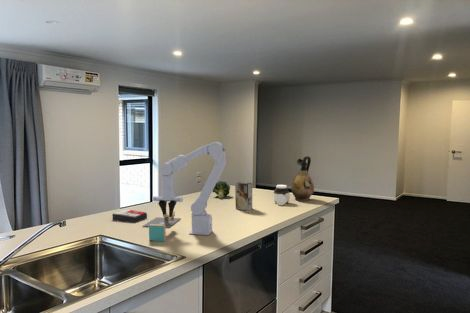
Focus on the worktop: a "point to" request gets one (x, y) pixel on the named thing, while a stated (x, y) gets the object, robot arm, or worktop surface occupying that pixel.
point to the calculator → (129, 215)
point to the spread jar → (281, 194)
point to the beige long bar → (166, 220)
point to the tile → (157, 232)
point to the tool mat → (161, 221)
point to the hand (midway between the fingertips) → (167, 216)
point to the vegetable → (221, 189)
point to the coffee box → (243, 195)
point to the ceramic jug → (303, 181)
